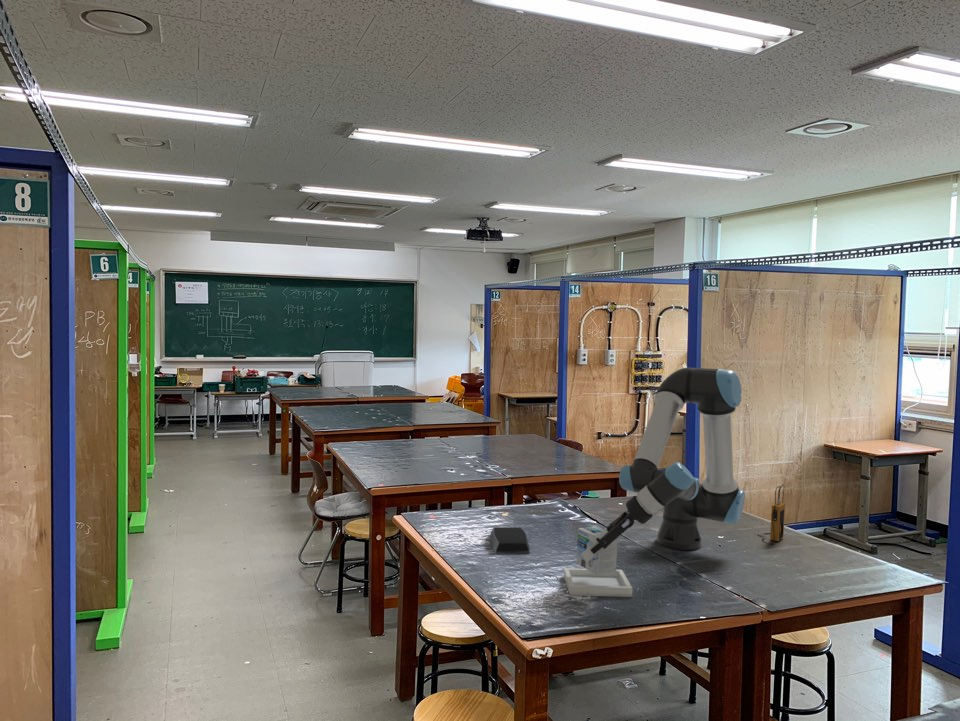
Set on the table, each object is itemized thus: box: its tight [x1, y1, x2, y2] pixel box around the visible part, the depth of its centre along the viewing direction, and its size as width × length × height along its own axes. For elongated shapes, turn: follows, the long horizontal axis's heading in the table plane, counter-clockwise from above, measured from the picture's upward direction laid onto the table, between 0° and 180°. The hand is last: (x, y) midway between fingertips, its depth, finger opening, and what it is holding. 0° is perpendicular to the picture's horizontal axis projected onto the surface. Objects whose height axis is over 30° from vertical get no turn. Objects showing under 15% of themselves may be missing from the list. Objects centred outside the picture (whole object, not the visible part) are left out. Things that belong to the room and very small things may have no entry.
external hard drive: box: [489, 526, 531, 555], centre depth 229 cm, size 13×19×4 cm
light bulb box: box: [576, 525, 618, 575], centre depth 193 cm, size 11×7×11 cm, turn 27°
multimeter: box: [756, 484, 786, 544], centre depth 244 cm, size 15×10×20 cm
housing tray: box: [563, 567, 634, 598], centre depth 193 cm, size 14×17×2 cm
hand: (588, 551), depth 194 cm, fingers closed on light bulb box, 12 cm apart
